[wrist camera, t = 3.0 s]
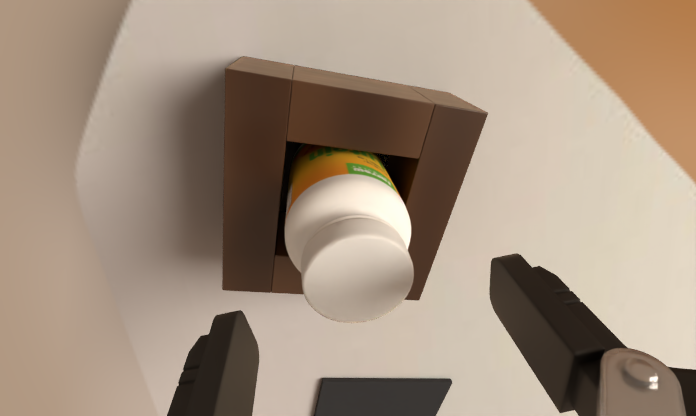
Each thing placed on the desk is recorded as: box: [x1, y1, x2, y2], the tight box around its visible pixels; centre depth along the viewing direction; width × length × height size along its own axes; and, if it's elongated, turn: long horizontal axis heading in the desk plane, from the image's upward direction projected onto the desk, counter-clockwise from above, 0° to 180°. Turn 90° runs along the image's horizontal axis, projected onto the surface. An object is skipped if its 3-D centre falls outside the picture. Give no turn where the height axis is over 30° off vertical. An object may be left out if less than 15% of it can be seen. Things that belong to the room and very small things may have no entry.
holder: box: [222, 56, 488, 300], centre depth 18 cm, size 11×11×4 cm
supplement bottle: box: [285, 143, 414, 323], centre depth 16 cm, size 5×5×10 cm
